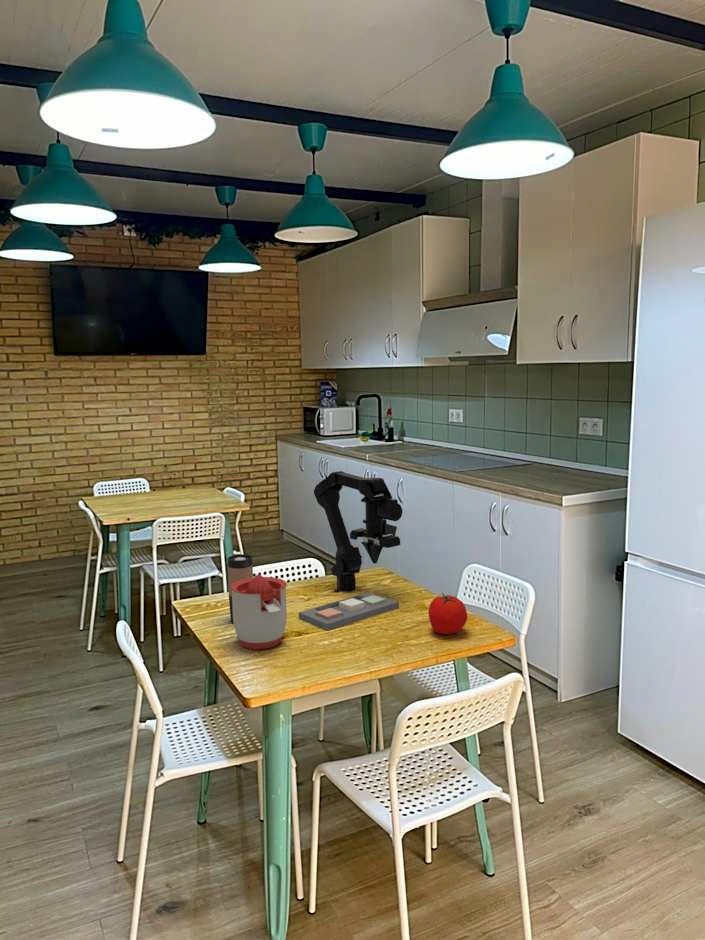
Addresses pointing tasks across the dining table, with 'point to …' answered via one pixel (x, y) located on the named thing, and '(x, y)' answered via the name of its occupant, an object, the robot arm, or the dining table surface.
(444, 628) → the tomato
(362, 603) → the key offwhite
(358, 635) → the dining table surface
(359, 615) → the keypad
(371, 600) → the key sage
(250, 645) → the citrus juicer
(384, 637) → the dining table surface
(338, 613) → the key terracotta
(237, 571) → the travel mug
